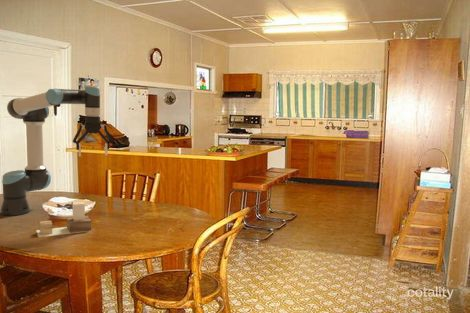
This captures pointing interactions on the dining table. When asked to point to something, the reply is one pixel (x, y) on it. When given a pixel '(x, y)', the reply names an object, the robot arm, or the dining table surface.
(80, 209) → the white block
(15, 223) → the dining table surface
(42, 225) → the oak cube
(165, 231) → the dining table surface
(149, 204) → the dining table surface
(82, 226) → the plinth
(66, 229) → the build board
